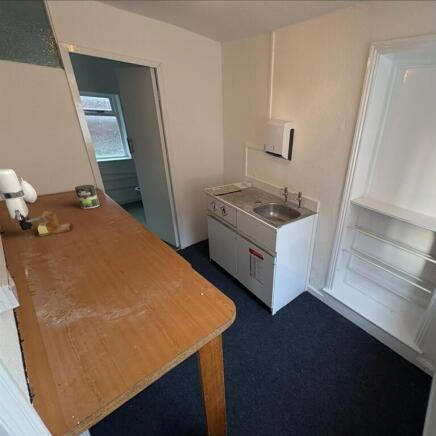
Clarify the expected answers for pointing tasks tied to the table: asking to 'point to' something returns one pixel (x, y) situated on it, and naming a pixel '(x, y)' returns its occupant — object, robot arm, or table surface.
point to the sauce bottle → (28, 192)
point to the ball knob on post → (36, 219)
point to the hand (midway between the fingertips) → (27, 227)
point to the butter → (42, 229)
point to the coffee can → (87, 196)
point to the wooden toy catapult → (53, 224)
